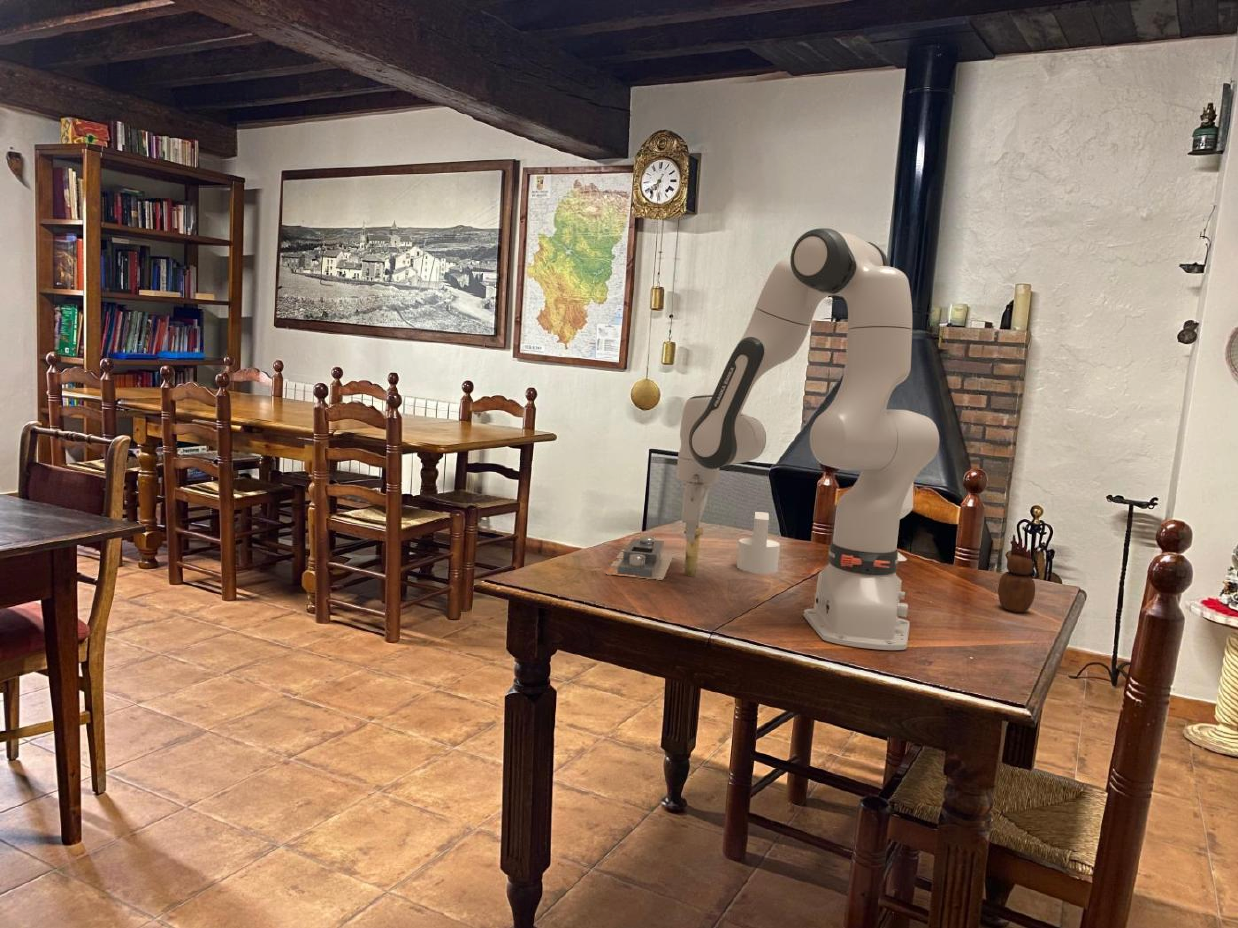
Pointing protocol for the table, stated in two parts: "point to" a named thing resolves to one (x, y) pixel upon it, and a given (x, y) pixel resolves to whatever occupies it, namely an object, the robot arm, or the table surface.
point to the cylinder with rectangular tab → (758, 549)
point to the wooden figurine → (1017, 580)
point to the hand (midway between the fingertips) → (691, 536)
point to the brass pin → (692, 553)
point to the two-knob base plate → (644, 559)
